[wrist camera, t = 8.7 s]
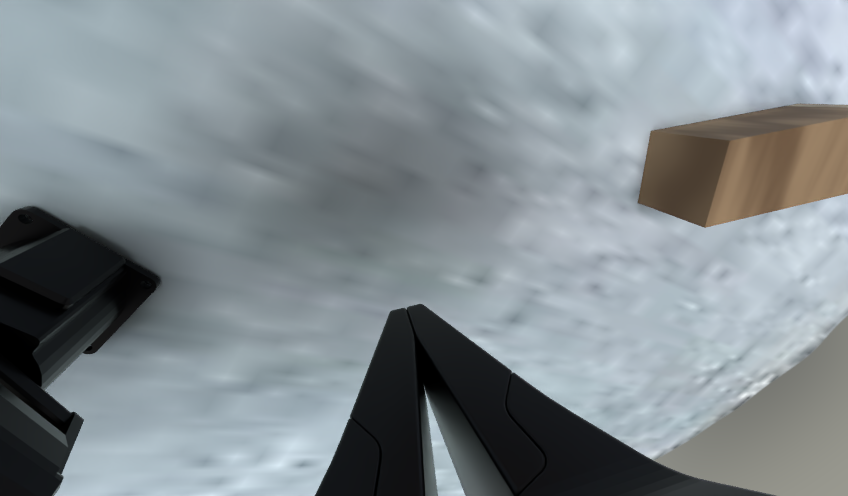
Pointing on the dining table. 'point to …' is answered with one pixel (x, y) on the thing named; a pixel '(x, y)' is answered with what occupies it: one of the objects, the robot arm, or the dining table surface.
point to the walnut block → (747, 163)
